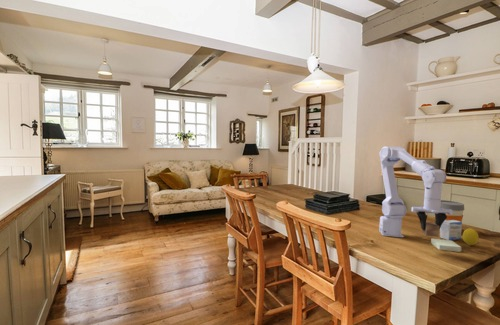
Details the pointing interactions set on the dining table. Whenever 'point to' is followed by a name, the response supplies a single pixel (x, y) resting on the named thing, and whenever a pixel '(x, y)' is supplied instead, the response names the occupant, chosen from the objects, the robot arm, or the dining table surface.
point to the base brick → (446, 245)
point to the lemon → (470, 236)
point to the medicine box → (451, 230)
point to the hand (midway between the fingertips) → (430, 230)
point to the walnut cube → (431, 229)
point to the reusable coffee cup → (453, 209)
